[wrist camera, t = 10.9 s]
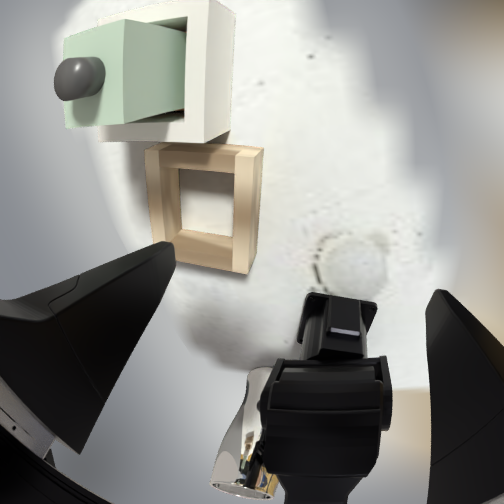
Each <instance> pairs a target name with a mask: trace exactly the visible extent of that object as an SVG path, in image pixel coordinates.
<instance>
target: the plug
mask: <svg viewBox="0 0 504 504" xmlns="http://www.w3.org/2000/svg"><path fill="white" fill-rule="evenodd" d="M186 38H187V33H185V32H182V31H178V30H174V29H170V28H166V27H162V26H158V25H154V24H149V23H144V22H140V21H134V20H129V19H122V20H118V21H115V22H111V23H108V24H104V25H101V26H98V27H95V28H92V29H89V30H86V31H83V32H80V33H77V34H75V35H72V36H69V37H67V38H64V50H63V62H61V64H60V65H59V66H58V68H57V70H56V73H55V77H54V89H55V92H56V94H57V96H58V97H59V98H60V99H61V100H63V101H64V112H65V125H66V129H69V128H78V127H89V126H100V125H115V124H125V123H129V122H132V121H136V120H139V119H143V118H146V117H150V116H154V115H158V114H162V113H166V112H170V111H174V110H178V109H183V108H185V61H186Z"/></svg>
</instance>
